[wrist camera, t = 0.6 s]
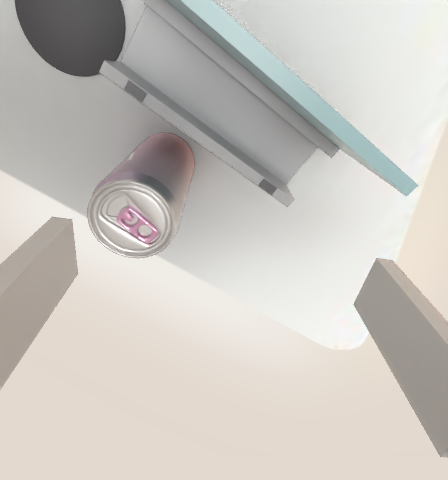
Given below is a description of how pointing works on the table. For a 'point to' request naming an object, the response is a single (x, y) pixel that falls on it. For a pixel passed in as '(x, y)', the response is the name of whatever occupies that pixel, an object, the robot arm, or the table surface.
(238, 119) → the grey rectangular tray
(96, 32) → the coaster
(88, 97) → the table surface
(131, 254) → the beverage can
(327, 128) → the cover
